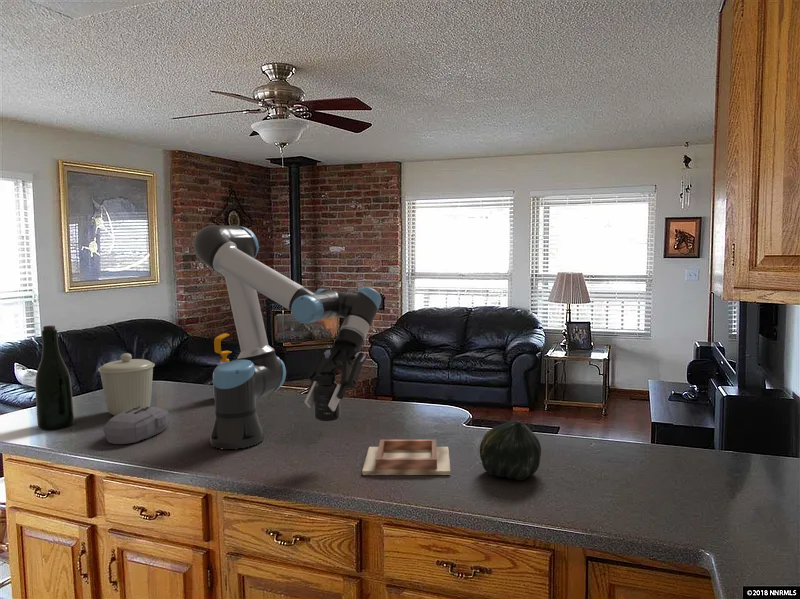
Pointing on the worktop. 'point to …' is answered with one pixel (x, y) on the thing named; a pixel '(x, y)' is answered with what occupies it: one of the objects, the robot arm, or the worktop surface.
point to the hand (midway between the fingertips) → (319, 406)
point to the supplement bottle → (325, 397)
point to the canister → (127, 383)
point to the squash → (510, 451)
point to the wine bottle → (53, 386)
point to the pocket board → (407, 458)
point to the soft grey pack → (136, 425)
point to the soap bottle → (218, 349)
